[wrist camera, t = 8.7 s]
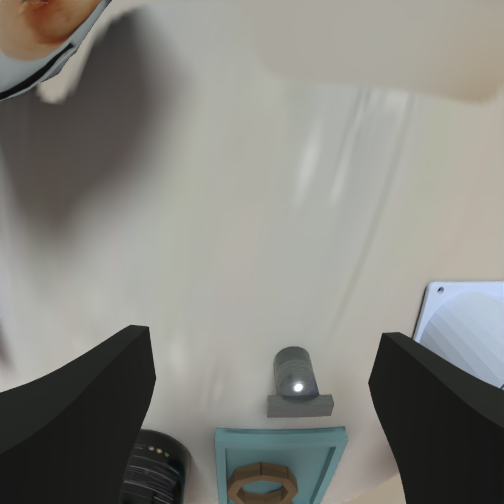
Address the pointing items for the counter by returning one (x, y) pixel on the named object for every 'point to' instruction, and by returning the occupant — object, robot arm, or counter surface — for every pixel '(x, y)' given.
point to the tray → (281, 458)
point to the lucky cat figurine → (40, 39)
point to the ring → (277, 500)
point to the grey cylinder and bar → (297, 387)
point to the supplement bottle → (155, 471)
